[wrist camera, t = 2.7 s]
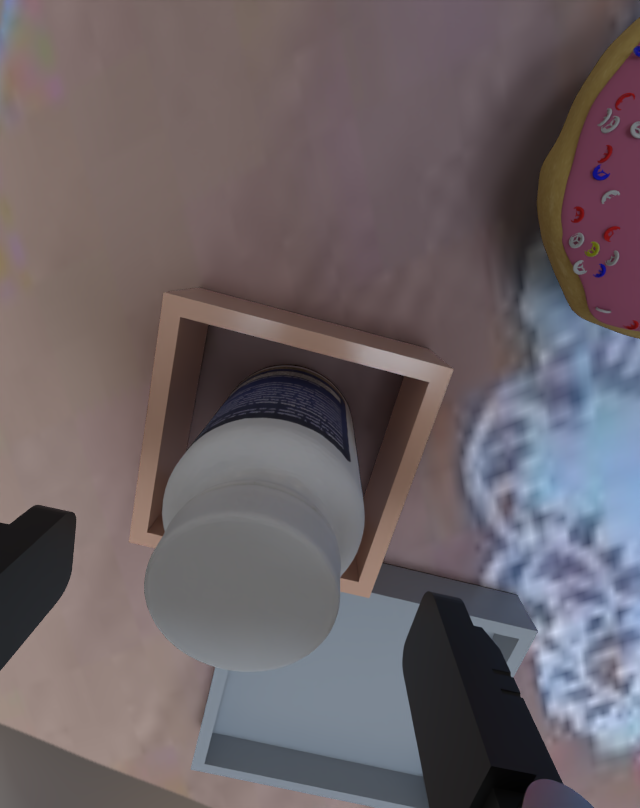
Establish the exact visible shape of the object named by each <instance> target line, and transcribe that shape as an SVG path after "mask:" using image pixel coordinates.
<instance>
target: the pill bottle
mask: <svg viewBox="0 0 640 808" xmlns="http://www.w3.org/2000/svg"><path fill="white" fill-rule="evenodd" d="M162 518H163V526H164V530H165V533H164V535H163V537H162V538H161V540H160V542H159V543H158V545H157V546H156V548H155V550H154V552H153V554H152V555H151V558H150V560H149V563H148V566H147V569H146V574H145V582H144V593H145V598H146V603H147V607H148V610H149V612H150V614H151V616H152V618H153V620H154V622H155V624H156V626H157V627H158V629H159V630H160V631H161V632H162V634H163V635H164V636H165V637H166V638H167V639H168V640H169V641H170V642H171V643H172V644H173V645H174V646H175V647H177V648H178V649H179V650H181V651H182V652H184V653H185V654H187V655H188V656H190V657H192V658H194V659H196V660H198V661H200V662H203V663H205V664H208V665H211V666H214V667H217V668H221V669H225V670H232V671H240V672H257V671H266V670H274V669H277V668H281V667H284V666H287V665H290V664H292V663H294V662H296V661H298V660H300V659H302V658H304V657H306V656H307V655H309V654H310V653H311V652H312V651H314V650H315V649H316V648H317V647H318V646H319V645H320V644H321V643H322V642H323V641H324V640H325V639H326V637H327V636H328V634H329V633H330V631H331V629H332V627H333V625H334V623H335V620H336V618H337V614H338V611H339V605H340V577H341V576H342V574H343V573H344V572H345V571H346V570H347V568H348V567H349V566H350V564H351V563H352V561H353V559H354V557H355V555H356V554H357V551H358V549H359V546H360V543H361V540H362V536H363V531H364V522H365V513H364V499H363V491H362V485H361V478H360V470H359V464H358V456H357V449H356V441H355V435H354V427H353V422H352V417H351V413H350V410H349V407H348V405H347V402H346V400H345V399H344V397H343V396H342V394H341V393H340V391H339V390H338V389H337V388H336V387H335V386H334V385H333V384H332V383H331V382H330V381H329V380H327V379H326V378H325V377H323V376H322V375H320V374H318V373H316V372H314V371H312V370H310V369H307V368H303V367H299V366H291V365H281V366H273V367H269V368H266V369H263V370H260V371H258V372H256V373H254V374H252V375H251V376H249V377H248V378H246V379H245V380H244V381H243V382H242V383H241V384H240V385H239V386H238V387H237V388H236V389H235V390H234V391H233V392H232V393H231V395H230V396H229V397H228V399H227V400H226V401H225V403H224V404H223V405H222V406H221V408H220V409H219V410H218V412H217V413H216V414H215V416H214V417H213V418H212V419H211V421H210V422H209V423H208V425H207V426H206V427H205V428H204V430H203V431H202V432H201V433H200V435H199V436H198V437H197V438H196V440H195V441H194V442H193V443H192V445H191V446H190V447H189V449H188V450H187V451H186V453H185V454H184V455H183V456H182V458H181V459H180V460H179V462H178V463H177V465H176V466H175V468H174V470H173V472H172V473H171V476H170V478H169V480H168V483H167V486H166V489H165V493H164V498H163V507H162Z"/></svg>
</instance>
